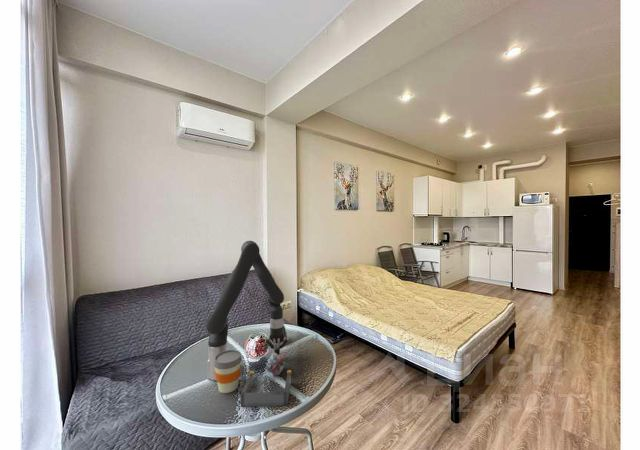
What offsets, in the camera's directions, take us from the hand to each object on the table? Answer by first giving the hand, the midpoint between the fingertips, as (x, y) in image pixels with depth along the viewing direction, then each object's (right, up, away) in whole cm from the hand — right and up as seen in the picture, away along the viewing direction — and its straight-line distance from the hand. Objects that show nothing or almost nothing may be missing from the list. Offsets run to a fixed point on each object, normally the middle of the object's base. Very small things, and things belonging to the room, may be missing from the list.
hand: (277, 355), depth 146 cm
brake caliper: (+1, -3, -12) cm, 12 cm away
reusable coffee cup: (-20, -4, -23) cm, 30 cm away
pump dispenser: (-2, -3, +19) cm, 20 cm away
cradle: (0, -3, -29) cm, 29 cm away
